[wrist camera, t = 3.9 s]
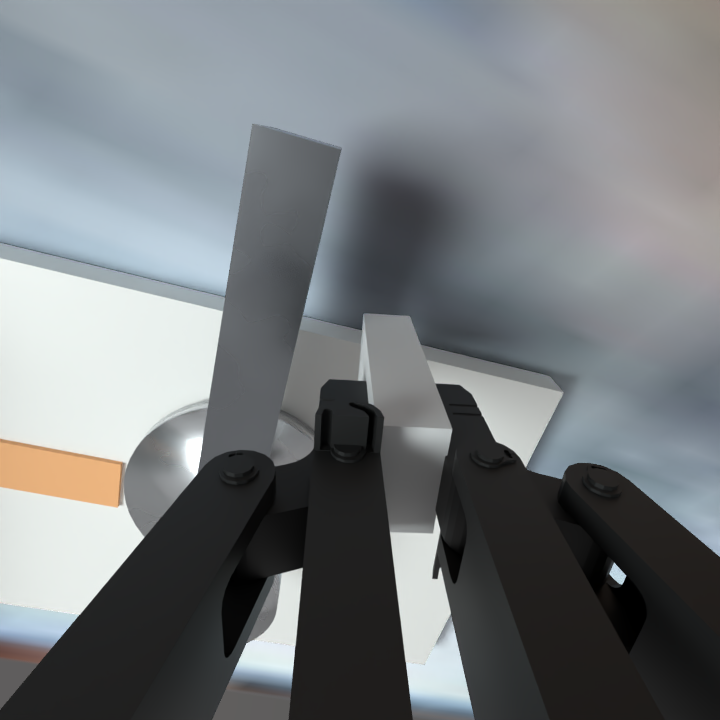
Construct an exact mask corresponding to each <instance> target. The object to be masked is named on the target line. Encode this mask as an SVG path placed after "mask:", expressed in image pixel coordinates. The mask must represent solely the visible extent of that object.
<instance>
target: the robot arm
mask: <svg viewBox="0 0 720 720" xmlns="http://www.w3.org/2000/svg"><path fill="white" fill-rule="evenodd" d="M436 515H437V519H438V523H439V527H440V535H439V540H438V545H437V550H436V555H435V560H434V565H433V573H432V579H438V574H439V569H440V568H441V571H442V575H443V580H444V584H445V589H446V593H447V598H448V602H449V607H450V611H451V615H452V620H453V624H454V629H455V633H456V638H457V642H458V647H459V651H460V656H461V660H462V665H463V669H464V674H465V678H466V682H467V687H468V691H469V696H470V700H471V705H472V709H473V714H474V718H475V720H720V557H719V556H718V555H717V554H715V553H714V552H713V551H712V550H711V549H710V548H708V547H707V546H706V545H705V544H704V543H702V542H701V541H700V540H699V539H698V538H697V537H695V536H694V535H693V534H692V533H691V532H689V531H688V530H687V529H686V528H685V527H684V526H682V525H681V524H680V523H679V522H678V521H677V520H675V519H674V518H673V517H672V516H671V515H669V514H668V513H667V512H666V511H665V510H664V509H662V508H661V507H660V506H659V505H658V504H656V503H655V502H654V501H653V500H652V499H651V498H649V497H648V496H647V495H646V494H645V493H644V492H642V491H641V490H640V489H639V488H638V487H636V486H635V485H634V484H633V483H632V482H631V481H629V480H628V479H626V478H625V477H623V476H622V475H621V474H619V473H618V472H615V471H613V470H611V469H608V468H607V467H604V466H601V465H597V464H591V463H577V464H574V465H570V466H569V467H568V468H567V469H566V471H565V472H564V475H563V478H562V479H558V478H554V477H550V476H546V475H542V474H538V473H535V472H532V471H529V470H527V469H526V467H525V466H524V464H523V462H522V460H521V459H520V457H519V456H518V455H517V454H516V453H515V452H514V451H513V450H511V449H510V448H508V447H507V446H505V445H503V444H500V443H497V442H496V441H495V439H494V437H493V435H492V433H491V431H490V429H489V427H488V425H487V423H486V421H485V419H484V417H483V416H482V413H481V411H480V409H479V407H477V403H476V401H475V399H474V398H473V396H472V394H471V393H469V392H468V391H467V390H466V389H464V388H463V387H462V386H461V385H456V384H437V383H435V381H434V379H433V376H432V374H431V371H430V368H429V366H428V363H427V360H426V358H425V355H424V352H423V350H422V347H421V344H420V342H419V339H418V336H417V334H416V331H415V328H414V326H413V323H412V320H411V318H410V316H401V315H385V314H369V313H363V325H362V337H361V349H360V361H359V373H358V381H355V380H336V379H329V380H328V381H327V382H326V383H325V384H324V385H323V386H322V387H321V390H320V401H319V408H318V410H317V412H316V414H315V430H314V448H313V450H312V451H311V452H310V454H308V455H307V456H306V457H304V458H303V459H300V460H298V461H296V462H293V463H289V464H285V465H279V466H275V465H274V463H273V461H272V460H271V459H270V458H269V457H267V456H266V455H265V454H262V453H259V452H256V451H252V450H236V451H229V452H225V453H223V454H221V455H218V456H216V457H214V458H213V459H211V460H210V461H209V462H208V463H207V464H205V466H204V467H203V468H202V469H201V470H200V472H199V473H198V474H197V475H196V476H195V478H194V479H193V480H192V481H191V482H190V484H189V485H188V486H187V487H186V488H185V489H184V491H183V492H182V493H181V494H180V495H179V497H178V498H177V499H176V500H175V501H174V503H173V504H172V505H171V506H170V507H169V509H168V510H167V511H166V512H165V513H164V515H163V516H162V517H161V518H160V519H159V521H158V522H157V523H156V524H155V525H154V527H153V528H152V529H151V530H150V531H149V533H148V534H147V535H146V536H145V537H144V539H143V540H142V541H141V542H140V543H139V545H138V546H137V547H136V548H135V549H134V550H133V552H132V553H131V554H130V555H129V556H128V558H127V559H126V560H125V561H124V562H123V564H122V565H121V566H120V567H119V568H118V570H117V571H116V572H115V573H114V574H113V576H112V577H111V578H110V579H109V580H108V582H107V583H106V584H105V585H104V586H103V588H102V589H101V590H100V591H99V592H98V594H97V595H96V596H95V597H94V598H93V600H92V601H91V602H90V603H89V604H88V606H87V607H86V608H85V609H84V610H83V612H82V613H81V614H80V615H79V616H78V617H77V619H76V620H75V621H74V622H73V623H72V625H71V626H70V627H69V628H68V629H67V631H66V632H65V633H64V634H63V635H62V637H61V638H60V639H59V640H58V641H57V643H56V644H55V645H54V646H53V647H52V649H51V650H50V651H49V652H48V653H47V655H46V656H45V657H44V658H43V659H42V661H41V662H40V663H39V664H38V665H37V667H36V668H35V669H34V670H33V671H32V673H31V674H30V675H29V676H28V677H27V679H26V680H25V681H24V683H22V685H21V686H20V687H19V688H18V689H17V690H16V692H15V693H14V694H13V695H12V696H11V698H10V699H9V700H8V701H7V702H6V704H5V705H4V706H3V707H2V708H1V710H0V720H212V718H213V716H214V714H215V712H216V709H217V707H218V705H219V703H220V701H221V698H222V696H223V694H224V692H225V690H226V687H227V685H228V683H229V681H230V678H231V676H232V674H233V672H234V669H235V667H236V665H237V663H238V661H239V658H240V656H241V654H242V652H243V649H244V647H245V645H246V643H247V641H248V638H249V636H250V634H251V632H252V629H253V627H254V625H255V623H256V620H257V618H258V616H259V614H260V612H261V609H262V607H263V605H264V603H265V600H266V598H267V596H268V594H269V592H270V589H271V587H272V585H273V583H274V578H275V575H277V574H281V573H285V572H289V571H293V570H297V569H300V568H303V571H302V581H301V592H300V603H299V614H298V625H297V635H296V646H295V657H294V668H293V679H292V689H291V700H290V711H289V720H413V718H412V710H411V702H410V694H409V685H408V677H407V669H406V661H405V652H404V644H403V636H402V628H401V619H400V611H399V603H398V595H397V587H396V578H395V570H394V562H393V554H392V545H391V537H390V532H400V533H429V534H433V530H434V525H435V519H436ZM613 563H615V564H616V565H617V566H618V567H619V568H620V569H621V570H622V571H623V572H624V574H625V575H626V578H625V580H624V583H623V584H622V585H621V584H619V583H617V582H616V581H615V580H614V579H613V578H612V577H611V576H610V574H609V573H610V571H611V568H612V566H613Z"/></svg>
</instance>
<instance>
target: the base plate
mask: <svg viewBox="0 0 720 720" xmlns="http://www.w3.org/2000/svg"><path fill="white" fill-rule="evenodd" d="M224 301H225V297H222V296H218V295H214V294H210V293H206V292H201V291H197V290H193V289H189V288H185V287H181V286H177V285H173V284H169V283H164V282H160V281H156V280H152V279H148V278H144V277H140V276H136V275H131V274H127V273H123V272H119V271H115V270H111V269H107V268H103V267H98V266H94V265H90V264H86V263H82V262H78V261H74V260H70V259H65V258H61V257H57V256H53V255H49V254H45V253H41V252H37V251H33V250H28V249H24V248H20V247H16V246H12V245H8V244H4V243H0V603H1V604H8V605H15V606H22V607H29V608H36V609H43V610H50V611H56V612H63V613H70V614H77V615H80V614H81V613H82V612H83V610H84V609H85V608H86V607H87V606H88V604H89V603H90V602H91V601H92V600H93V598H94V597H95V596H96V595H97V594H98V592H99V591H100V590H101V589H102V588H103V586H104V585H105V584H106V583H107V582H108V580H109V579H110V578H111V577H112V576H113V574H114V573H115V572H116V571H117V570H118V568H119V567H120V566H121V565H122V564H123V562H124V561H125V560H126V559H127V558H128V556H129V555H130V554H131V553H132V552H133V550H134V549H135V548H136V547H137V546H138V545H139V543H140V542H141V541H142V540H143V539H144V536H143V535H142V533H141V532H140V531H139V529H138V528H137V526H136V525H135V523H134V521H133V520H132V518H131V516H130V514H129V511H128V508H127V505H126V501H125V495H124V477H125V471H126V468H127V465H128V462H129V460H130V458H131V456H132V454H133V452H134V451H135V449H136V447H137V446H138V444H139V443H140V442H141V440H142V439H143V437H144V436H145V435H146V433H147V432H148V431H149V430H150V429H151V428H152V427H153V426H154V425H155V424H156V423H157V422H158V421H159V420H161V419H162V418H164V417H165V416H167V415H168V414H170V413H171V412H173V411H176V410H178V409H180V408H182V407H184V406H187V405H191V404H194V403H197V402H202V401H207V400H209V396H210V390H211V384H212V377H213V371H214V365H215V358H216V352H217V346H218V339H219V333H220V327H221V320H222V314H223V308H224ZM361 337H362V330H358V329H354V328H350V327H346V326H342V325H337V324H333V323H329V322H325V321H321V320H317V319H313V318H309V317H305V316H302V321H301V325H300V329H299V333H298V338H297V342H296V346H295V351H294V355H293V359H292V364H291V368H290V372H289V376H288V381H287V385H286V389H285V394H284V398H283V402H282V407H281V410H283V411H286V412H288V413H289V414H291V415H293V416H295V417H297V418H298V419H300V420H301V421H303V422H304V423H306V424H307V425H308V426H310V427H311V428H312V429H313V430H315V414H316V412H317V410H318V408H319V401H320V390H321V387H322V386H323V385H324V384H325V383H326V382H327V381H328V380H329V379H336V380H355V381H358V373H359V361H360V349H361ZM421 347H422V350H423V352H424V355H425V358H426V360H427V363H428V366H429V368H430V371H431V374H432V376H433V379H434V381H435V383H437V384H456V385H461V386H462V387H463V388H464V389H466V390H467V391H468V392H469V393H471V394H472V396H473V398H474V399H475V401H476V403H477V407H479V409H480V411H481V413H482V416H483V417H484V419H485V421H486V423H487V425H488V427H489V429H490V431H491V433H492V435H493V437H494V439H495V441H496V442H497V443H500V444H503V445H505V446H507V447H508V448H510V449H511V450H513V451H514V452H515V453H516V454H517V455H518V456H519V457H520V459H521V460H522V462H523V464H524V466H525V467H526V466H527V464H528V462H529V460H530V458H531V456H532V454H533V452H534V450H535V448H536V446H537V444H538V442H539V440H540V438H541V436H542V434H543V432H544V431H545V429H546V427H547V425H548V423H549V421H550V419H551V417H552V415H553V413H554V411H555V409H556V407H557V405H558V403H559V401H560V399H561V397H562V395H563V393H564V392H563V391H562V390H561V389H560V387H559V386H558V385H557V384H556V383H555V382H554V381H553V379H552V378H551V377H550V376H548V375H544V374H539V373H535V372H531V371H527V370H523V369H519V368H515V367H511V366H506V365H502V364H498V363H494V362H490V361H486V360H482V359H478V358H473V357H469V356H465V355H461V354H457V353H453V352H449V351H445V350H441V349H436V348H432V347H428V346H424V345H421ZM439 535H440V527H439V523H438V519H437V515H436V519H435V525H434V530H433V534H429V533H400V532H390V537H391V545H392V554H393V562H394V570H395V578H396V587H397V595H398V603H399V611H400V619H401V628H402V636H403V644H404V652H405V661H406V662H408V663H414V664H421V665H425V663H426V661H427V659H428V657H429V655H430V653H431V651H432V649H433V647H434V645H435V643H436V641H437V640H438V638H439V636H440V634H441V632H442V630H443V628H444V626H445V624H446V622H447V620H448V618H449V616H450V614H451V611H450V607H449V602H448V598H447V593H446V589H445V584H444V580H443V575H442V571H441V568H440V569H439V574H438V579H432V573H433V565H434V560H435V555H436V550H437V545H438V540H439ZM302 571H303V568H300V569H297V570H293V571H289V572H285V573H282V578H281V585H280V591H279V598H278V605H277V611H276V615H275V618H274V620H273V622H272V624H271V625H270V627H269V628H268V629H267V630H266V631H265V632H264V633H263V634H262V635H260V636H259V637H257V638H256V639H254V640H256V641H263V642H270V643H277V644H284V645H291V646H296V635H297V625H298V614H299V603H300V592H301V581H302Z"/></svg>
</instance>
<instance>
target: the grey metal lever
mask: <svg viewBox="0 0 720 720" xmlns="http://www.w3.org/2000/svg"><path fill="white" fill-rule="evenodd" d="M341 149H342V148H341V147H338V146H334V145H331V144H327V143H324V142H321V141H317V140H314V139H311V138H307V137H304V136H300V135H297V134H294V133H290V132H287V131H283V130H280V129H277V128H273V127H268V126H262V125H257V124H252V130H251V137H250V143H249V149H248V156H247V162H246V168H245V175H244V181H243V187H242V194H241V200H240V206H239V213H238V219H237V225H236V232H235V238H234V244H233V251H232V257H231V263H230V270H229V276H228V282H227V289H226V295H225V301H224V308H223V314H222V320H221V327H220V333H219V339H218V346H217V352H216V358H215V365H214V371H213V377H212V384H211V390H210V396H209V400H207V401H202V402H197V403H194V404H191V405H187V406H184V407H182V408H180V409H178V410H176V411H173V412H171V413H170V414H168V415H167V416H165V417H164V418H162V419H161V420H159V421H158V422H157V423H156V424H155V425H154V426H153V427H152V428H151V429H150V430H149V431H148V432H147V433H146V435H145V436H144V437H143V439H142V440H141V442H140V443H139V444H138V446H137V447H136V449H135V451H134V452H133V454H132V456H131V458H130V460H129V462H128V465H127V468H126V471H125V477H124V495H125V501H126V505H127V508H128V511H129V514H130V516H131V518H132V520H133V521H134V523H135V525H136V526H137V528H138V529H139V531H140V532H141V533H142V535H143V536H144V537H145V536H146V535H147V534H148V533H149V531H150V530H151V529H152V528H153V527H154V525H155V524H156V523H157V522H158V521H159V519H160V518H161V517H162V516H163V515H164V513H165V512H166V511H167V510H168V509H169V507H170V506H171V505H172V504H173V503H174V501H175V500H176V499H177V498H178V497H179V495H180V494H181V493H182V492H183V491H184V489H185V488H186V487H187V486H188V485H189V484H190V482H191V481H192V480H193V479H194V478H195V476H196V475H197V474H198V473H199V472H200V470H201V469H202V468H203V467H204V466H205V464H207V463H208V462H209V461H210V460H211V459H213V458H214V457H216V456H218V455H221V454H223V453H225V452H229V451H236V450H252V451H256V452H259V453H262V454H265V455H266V456H267V457H269V458H270V459H271V460H272V461H273V463H274V465H275V466H279V465H285V464H289V463H293V462H296V461H298V460H300V459H303V458H304V457H306V456H307V455H308V454H310V452H311V451H312V450H313V448H314V430H313V429H312V428H311V427H310V426H308V425H307V424H306V423H304V422H303V421H301V420H300V419H298V418H297V417H295V416H293V415H291V414H289V413H288V412H286V411H283V410H281V407H282V402H283V398H284V394H285V389H286V385H287V381H288V376H289V372H290V368H291V364H292V359H293V355H294V351H295V346H296V342H297V338H298V333H299V329H300V325H301V321H302V316H303V312H304V308H305V303H306V299H307V295H308V290H309V286H310V282H311V278H312V273H313V269H314V265H315V260H316V256H317V252H318V247H319V243H320V239H321V235H322V230H323V226H324V222H325V217H326V213H327V209H328V204H329V200H330V196H331V192H332V187H333V183H334V179H335V174H336V170H337V166H338V161H339V157H340V153H341ZM281 578H282V573H281V574H277V575H275V578H274V583H273V585H272V587H271V589H270V592H269V594H268V596H267V598H266V600H265V603H264V605H263V607H262V609H261V612H260V614H259V616H258V618H257V620H256V623H255V625H254V627H253V629H252V632H251V634H250V636H249V638H248V641H247V643H248V642H250V641H252V640H254V639H256V638H257V637H259V636H260V635H262V634H263V633H264V632H265V631H266V630H267V629H268V628H269V627H270V625H271V624H272V622H273V620H274V618H275V615H276V611H277V605H278V598H279V591H280V585H281Z"/></svg>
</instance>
